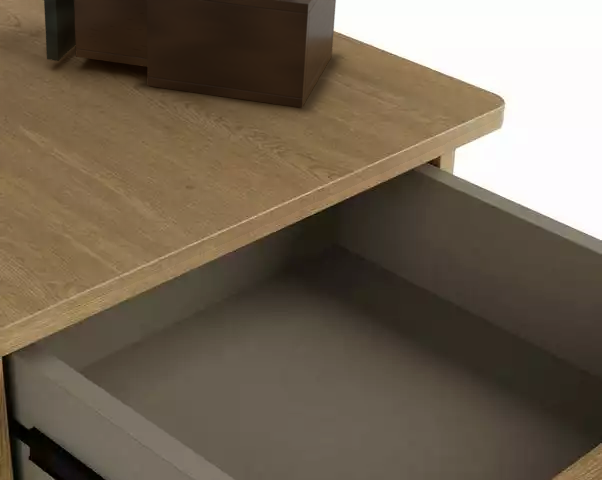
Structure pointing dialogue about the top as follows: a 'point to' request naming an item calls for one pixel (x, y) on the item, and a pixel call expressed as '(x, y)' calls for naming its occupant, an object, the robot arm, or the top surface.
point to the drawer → (97, 29)
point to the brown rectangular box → (240, 47)
